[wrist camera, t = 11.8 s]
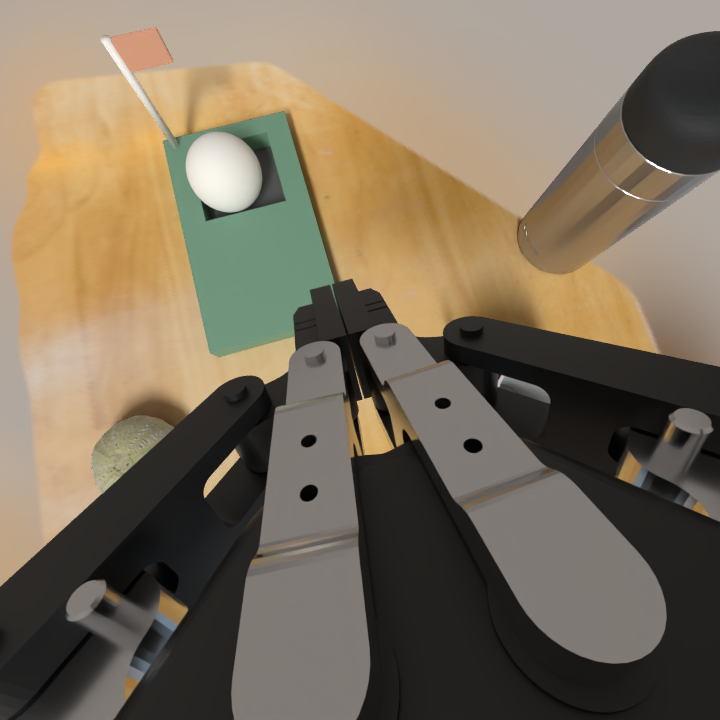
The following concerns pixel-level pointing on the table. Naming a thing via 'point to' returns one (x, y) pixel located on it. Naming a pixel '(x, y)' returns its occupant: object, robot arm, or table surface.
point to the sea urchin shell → (125, 447)
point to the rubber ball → (223, 172)
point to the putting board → (240, 223)
